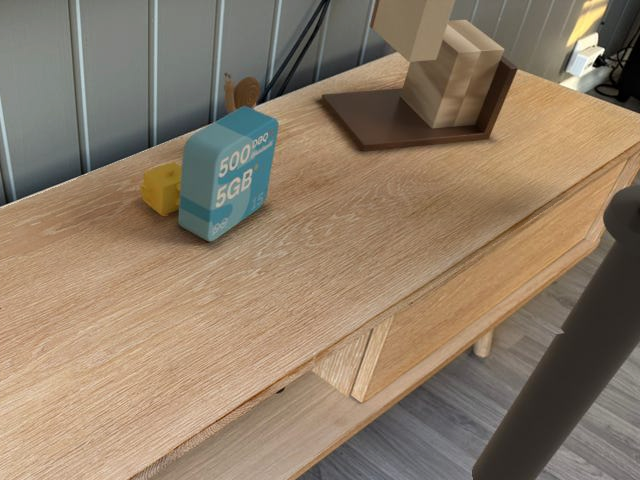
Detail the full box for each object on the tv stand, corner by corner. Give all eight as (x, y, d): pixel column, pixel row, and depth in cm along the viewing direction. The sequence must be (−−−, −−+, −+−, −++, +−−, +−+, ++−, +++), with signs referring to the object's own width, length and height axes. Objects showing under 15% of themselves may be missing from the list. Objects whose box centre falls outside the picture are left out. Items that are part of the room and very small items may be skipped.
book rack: (437, 91, 112) (464, 12, 104) (488, 139, 103) (523, 56, 94) (320, 100, 109) (338, 19, 100) (362, 151, 99) (385, 66, 90)
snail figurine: (203, 152, 97) (211, 65, 88) (236, 138, 100) (247, 52, 91) (231, 169, 94) (242, 81, 85) (264, 154, 97) (278, 68, 88)
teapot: (156, 231, 84) (157, 193, 80) (128, 207, 87) (129, 170, 83) (208, 209, 87) (212, 173, 84) (180, 187, 91) (182, 151, 87)
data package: (206, 247, 82) (216, 154, 74) (176, 230, 84) (182, 138, 76) (265, 204, 89) (281, 115, 80) (236, 190, 91) (249, 101, 82)
